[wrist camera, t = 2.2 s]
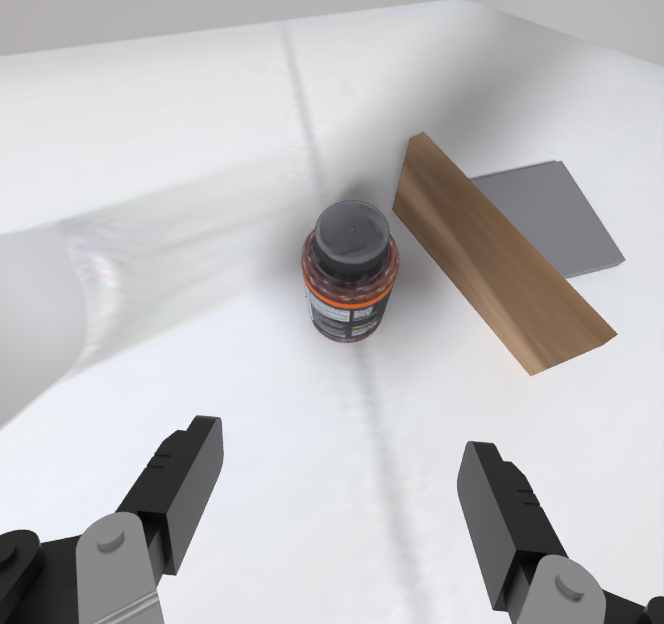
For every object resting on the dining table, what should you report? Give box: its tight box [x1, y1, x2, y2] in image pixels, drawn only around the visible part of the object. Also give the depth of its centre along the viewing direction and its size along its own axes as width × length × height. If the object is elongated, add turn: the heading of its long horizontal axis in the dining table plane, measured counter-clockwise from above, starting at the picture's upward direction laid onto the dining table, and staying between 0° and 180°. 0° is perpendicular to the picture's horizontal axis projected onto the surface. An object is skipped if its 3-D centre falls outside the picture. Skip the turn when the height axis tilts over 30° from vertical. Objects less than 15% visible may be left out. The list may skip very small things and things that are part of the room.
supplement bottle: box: [302, 200, 399, 343], centre depth 25 cm, size 6×6×11 cm
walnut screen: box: [392, 132, 618, 376], centre depth 27 cm, size 1×18×8 cm, turn 32°
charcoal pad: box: [470, 161, 625, 279], centre depth 33 cm, size 11×11×1 cm
